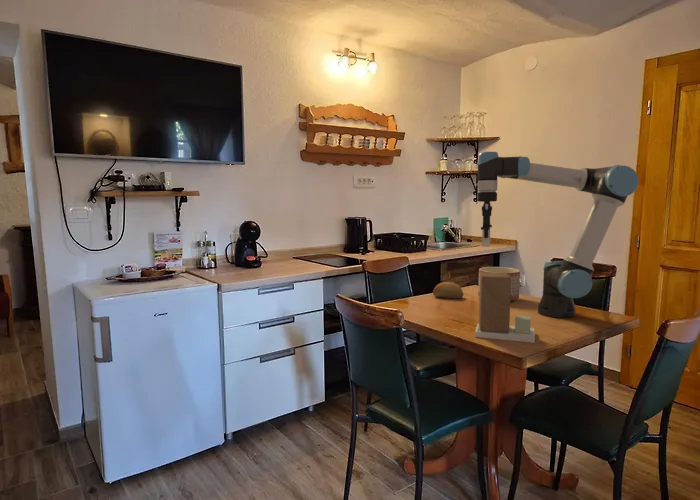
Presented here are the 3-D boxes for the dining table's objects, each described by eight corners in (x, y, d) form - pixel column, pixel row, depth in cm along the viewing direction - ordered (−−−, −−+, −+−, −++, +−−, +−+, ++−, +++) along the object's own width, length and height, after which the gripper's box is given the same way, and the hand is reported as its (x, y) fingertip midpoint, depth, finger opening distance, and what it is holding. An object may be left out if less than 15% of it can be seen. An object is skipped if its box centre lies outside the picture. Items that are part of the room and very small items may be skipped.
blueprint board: (533, 333, 171) (533, 327, 171) (534, 342, 160) (534, 336, 160) (477, 328, 178) (477, 322, 178) (474, 336, 167) (474, 331, 167)
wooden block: (509, 333, 164) (511, 277, 162) (480, 331, 166) (481, 276, 164) (506, 325, 174) (508, 272, 172) (478, 324, 176) (480, 272, 174)
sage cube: (529, 329, 168) (530, 316, 168) (529, 333, 164) (530, 319, 163) (515, 328, 170) (515, 315, 169) (514, 332, 165) (515, 318, 165)
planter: (524, 298, 230) (526, 269, 229) (509, 305, 216) (510, 274, 214) (488, 293, 243) (489, 265, 241) (471, 299, 229) (472, 269, 227)
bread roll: (433, 294, 240) (433, 279, 239) (463, 296, 237) (463, 280, 236) (431, 298, 231) (432, 282, 230) (462, 300, 227) (463, 284, 226)
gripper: (478, 192, 197) (477, 241, 199) (476, 191, 174) (475, 247, 176) (497, 191, 195) (496, 242, 197) (497, 191, 171) (495, 248, 174)
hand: (486, 244), depth 187 cm, fingers open, 13 cm apart
